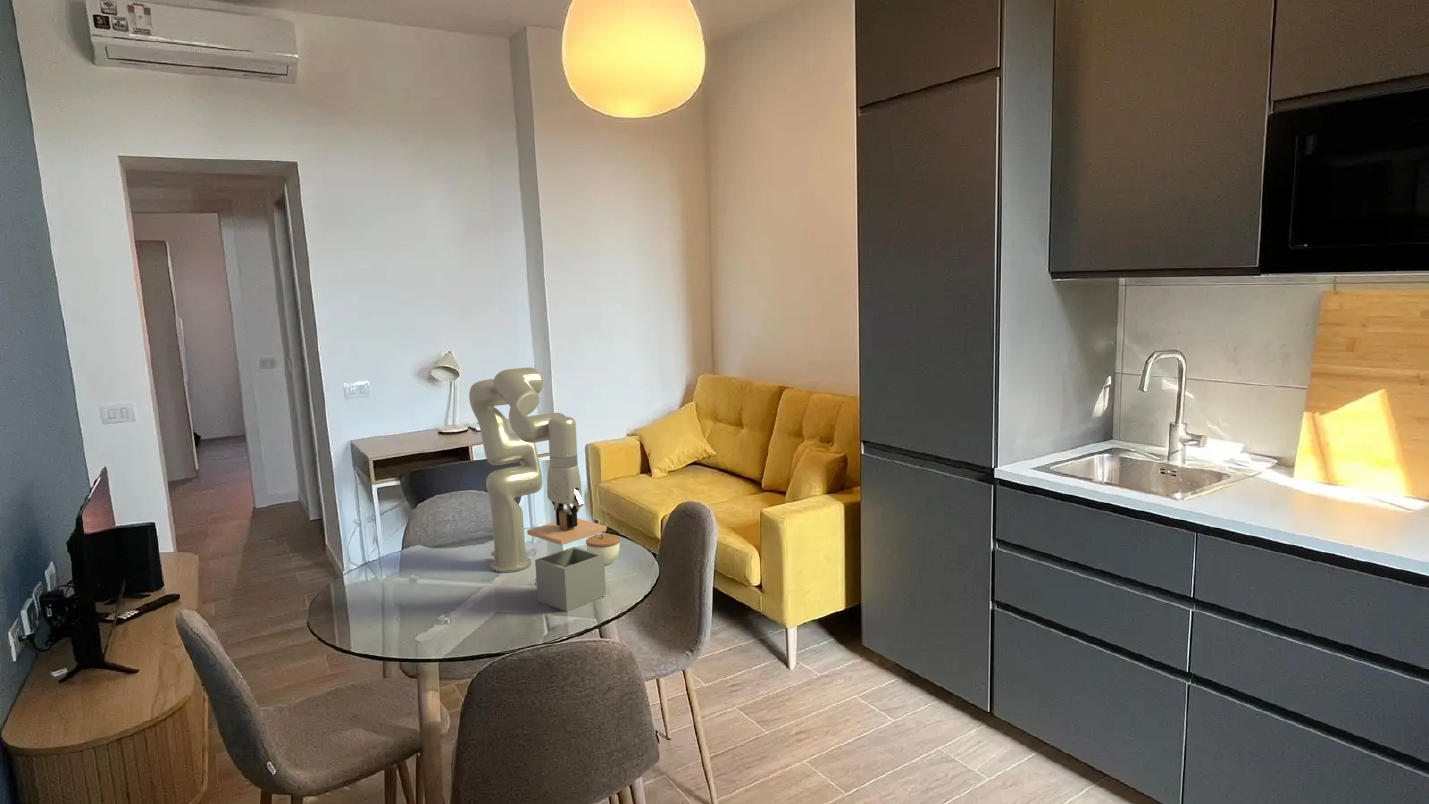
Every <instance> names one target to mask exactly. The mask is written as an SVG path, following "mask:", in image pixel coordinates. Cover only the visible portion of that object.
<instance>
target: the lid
mask: <svg viewBox="0 0 1429 804" xmlns="http://www.w3.org/2000/svg"><path fill="white" fill-rule="evenodd" d="M567 514H568V510H567V508H564V509H563V510H560V511H559V522H560V525H557V524H556V521H555V522H551V523H547V524H544V525H541V526H537V527H534V528H530V529H527V532H526V533H527V535H528V536H531V537H534V538H538V539H540V540H544V541H546V542H549V543H553V544H557V545H560V546H563V545H568V544H570V543H573V542H576V541H579V540H583V539H585V538H589V537H592V536H595V535H598V534H600V533H603V532H607V531H608V530H607V529H608V527H607V525H604V524H600V523H596V522H593V521H588V520H585V519H582V518H578V517H577V526H576V527H573V528H570V529H569V528H567Z"/></svg>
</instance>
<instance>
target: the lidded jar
mask: <svg viewBox="0 0 1429 804" xmlns="http://www.w3.org/2000/svg"><path fill="white" fill-rule="evenodd" d="M620 541H621V538H620V536H619V535H616V534H611V533H601V534H595V535H592V536H588V537H587V539H586V540H585V544H586V550H587V551H591V552H594V553H598V554H601V555H604V566H609V565H612V564H613V563H614V562H615V560H616V559H617V558H618V557H619V553H620V549H621V548H620V547H621V542H620ZM613 561H614V562H613ZM612 562H613V563H612ZM611 563H612V564H611ZM608 564H609V565H608Z"/></svg>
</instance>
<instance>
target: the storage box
mask: <svg viewBox="0 0 1429 804" xmlns="http://www.w3.org/2000/svg"><path fill="white" fill-rule="evenodd" d="M534 562H535V563H534V564H535V580H536V593H537V601H538V602H540V603H543V604H545V605H548V606H551V607H554V608H555V609H559V610H562V611H563V612H570V611H573V610H575V609H577V608H580V607H581V606H585V605H587V604H589V603H590V604H591V603H592V602H595V601H597V600H599V598H600V597H602V596H603V595H605V594H606V595H607V589H606V588H607V587H606V571H605V569H606V567H605V566H606V565H604V555H601V554H598V553H594V552H591V551H587V549H583V548H581V547H576V546H573V547H569V548H566V549H563V550H561V551H557V552H555V553H552V554H548V555H546V556H542V557H540V558H537V559H535V560H534ZM568 565H570V566H568ZM602 598H603V597H602ZM600 599H601V598H600Z"/></svg>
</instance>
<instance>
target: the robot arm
mask: <svg viewBox="0 0 1429 804" xmlns="http://www.w3.org/2000/svg"><path fill="white" fill-rule="evenodd" d="M543 387H544V381H543V376H542V374H541V373H540V371H539V370H537V369H536V368H534V367H518V368H507V369H504V370H501V371H499V372H498V373H497V374H495V377H494V378H489V379H483V380H480V381H477V382H475V383H474V384H472V385H471V387H470V389H469V393H468V400H469V404H470V407H471V411H472V413H473V414H474V417H475V418H476V420H477V423H478V425H479V426H478V427H479V430H480V435H481V441H482V446H483V450H484V455H485V458H486V460H487V463H489V464H490V465H491V466H500V465H501V466H502V465H508V464H514V463H519V464H520V465H518V466H511V467H505V468H501V469H497V470H494V471H492V472H491V473H489V474H488V476H487V477H486V480H485V485H486V490H487V494H488V498H489V503H490V509H491V520H492V521H491V523H492V532H493V533H492V534H493V536H492V537H493V549H494V550H493V551H491V552H490V555H491V556H492V557H493V558H494V559H493V561H492V562H491V563H490V569H491V570H492V569H493V570H492V571H494V570H496V571H495V572H497V571H499V573H510V572H512V573H513V572H517V571H518V572H519V571H521V570H522V571H523V570H524V569H527V568H528V567H530V566H531V564H532V560H531V558H530V557H528V556H527V555H526V541H525V527H524V526H525V525H524V513H523V508H522V507H521V506H520V505H519V504H518V502H517V501H516V500H515V498H518V497H523V496H528V495H532V494H536V493H538V492H540V491H541V489H542V487H543V476H542V475H543V474H542V470H541V464H540V461H539V460H540V459H539V455H538V449H537V445H536V443H540V442H546V441H548V451H549V466H548V469H547V479H546V480H547V481H546V483H547V484H546V487H547V489H546V490H547V492H546V493H547V499H548V500H549V501H551V502H552V505H553V507H554V508H553V511H555V522H556V524H557V525H560V522H559V511H560V510H563V509H567V510H568V514H567V528H569V529H570V528H573V527H576V526H577V518H578V513H579V511H580V509H581V508H582V507H584V502H583V500H582V498H583V495H582V494H583V493H582V491H583V490H582V482H581V474H580V470H579V469H580V468H579V466H578V463H579V462H578V445H577V443H578V442H577V425H576V424H577V423H576V420H575V419H574V418H573V417H571V416H566V415H565V414H563V413H561V412H551V413H542V414H535V415H534V414H533V415H530V414H532V412H534V411H536V409H537V407H538V405H539V403H540V396H539V394H540V393H541V392H542V390H543ZM505 405H508V406H509V407H510V408H509V412H508V420H509V421H507V418H506V416H505V415H504V414H503V412H501V410H499V409H498V408H496V406H498V407H499V406H505ZM508 422H509V424H510V427H511V430H512V431H513V432H511V431H510V430H509V425H508ZM565 507H566V508H565Z"/></svg>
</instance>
